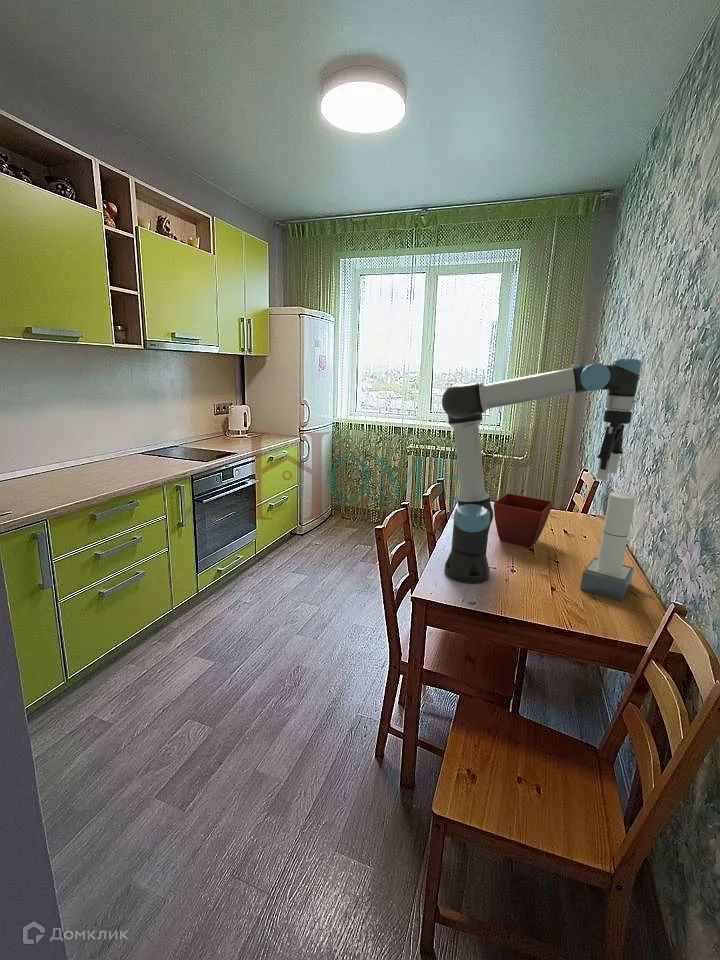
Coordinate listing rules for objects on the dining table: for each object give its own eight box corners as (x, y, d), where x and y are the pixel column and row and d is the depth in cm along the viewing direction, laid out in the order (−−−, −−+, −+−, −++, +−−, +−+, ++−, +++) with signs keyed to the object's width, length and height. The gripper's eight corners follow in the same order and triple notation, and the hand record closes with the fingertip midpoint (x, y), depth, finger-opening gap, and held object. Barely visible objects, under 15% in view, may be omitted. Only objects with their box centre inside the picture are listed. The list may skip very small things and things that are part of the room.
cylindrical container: (599, 571, 143) (613, 497, 137) (594, 562, 150) (606, 491, 144) (624, 574, 141) (638, 499, 135) (617, 565, 148) (630, 493, 142)
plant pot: (536, 553, 173) (542, 512, 169) (488, 541, 184) (492, 502, 180) (548, 539, 189) (553, 501, 185) (503, 529, 199) (507, 493, 195)
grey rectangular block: (621, 601, 137) (625, 582, 136) (580, 589, 145) (583, 571, 143) (630, 584, 149) (633, 566, 148) (591, 573, 157) (594, 556, 155)
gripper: (624, 412, 127) (610, 484, 132) (639, 409, 145) (627, 472, 150) (595, 410, 131) (583, 480, 136) (614, 407, 150) (603, 468, 155)
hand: (606, 476), depth 143 cm, fingers open, 13 cm apart
